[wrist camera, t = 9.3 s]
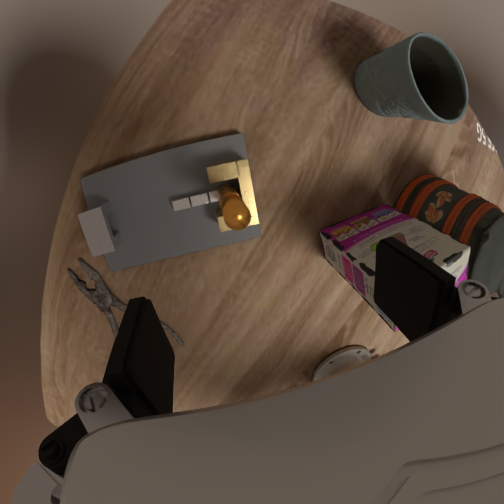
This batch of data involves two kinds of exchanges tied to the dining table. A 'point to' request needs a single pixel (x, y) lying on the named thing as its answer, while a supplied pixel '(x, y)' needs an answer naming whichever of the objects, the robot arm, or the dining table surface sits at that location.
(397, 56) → the grey green cup
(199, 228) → the tie down board
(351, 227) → the candy bar box
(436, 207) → the beer stein
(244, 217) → the amber lever
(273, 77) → the dining table surface
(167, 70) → the dining table surface
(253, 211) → the bracket
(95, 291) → the pliers
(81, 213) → the block
